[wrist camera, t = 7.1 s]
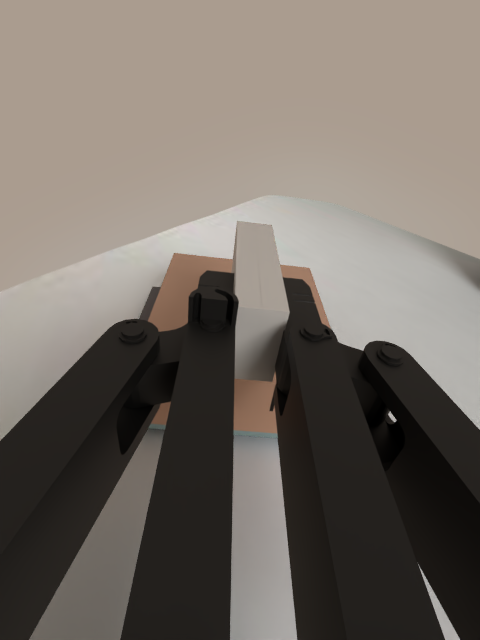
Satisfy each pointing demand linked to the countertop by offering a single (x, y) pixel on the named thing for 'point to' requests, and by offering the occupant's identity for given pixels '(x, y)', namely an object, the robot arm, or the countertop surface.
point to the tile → (173, 314)
